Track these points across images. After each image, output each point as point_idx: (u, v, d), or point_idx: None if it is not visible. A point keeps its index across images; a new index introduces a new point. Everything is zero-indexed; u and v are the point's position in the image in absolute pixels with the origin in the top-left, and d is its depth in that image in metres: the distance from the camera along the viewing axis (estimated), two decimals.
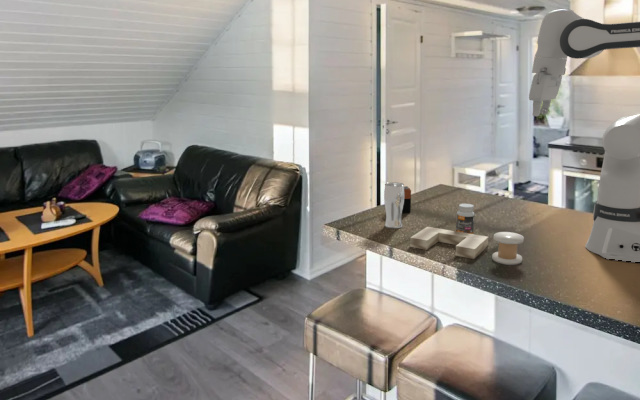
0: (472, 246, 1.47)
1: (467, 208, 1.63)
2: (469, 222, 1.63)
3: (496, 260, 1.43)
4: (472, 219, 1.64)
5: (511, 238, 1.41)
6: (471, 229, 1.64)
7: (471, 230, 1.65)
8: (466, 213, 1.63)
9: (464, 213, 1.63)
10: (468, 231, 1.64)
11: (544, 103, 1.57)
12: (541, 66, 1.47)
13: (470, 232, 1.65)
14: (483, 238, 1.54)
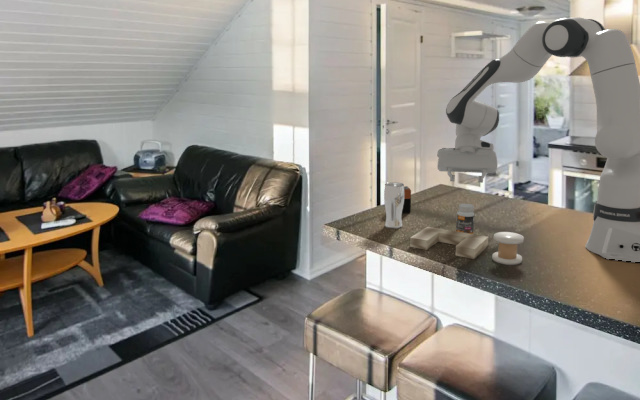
0: (472, 246, 1.47)
1: (467, 208, 1.63)
2: (469, 222, 1.63)
3: (496, 260, 1.43)
4: (472, 219, 1.64)
5: (511, 238, 1.41)
6: (471, 229, 1.64)
7: (471, 230, 1.65)
8: (466, 213, 1.63)
9: (464, 213, 1.63)
10: (468, 231, 1.64)
11: None
12: None
13: (470, 232, 1.65)
14: (483, 238, 1.54)
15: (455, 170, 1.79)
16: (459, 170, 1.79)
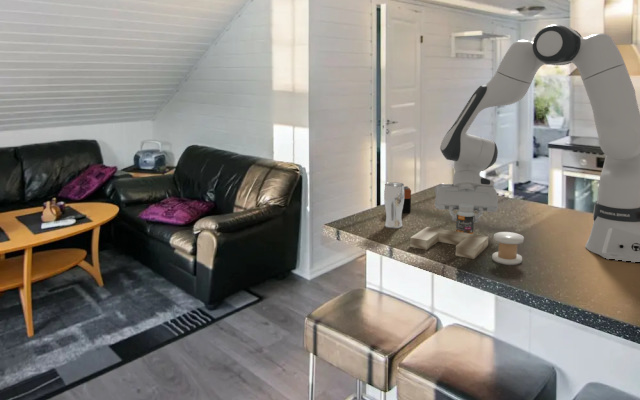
0: (472, 246, 1.47)
1: (467, 208, 1.63)
2: (469, 222, 1.63)
3: (496, 260, 1.43)
4: (472, 219, 1.64)
5: (511, 238, 1.41)
6: (471, 229, 1.64)
7: (471, 230, 1.65)
8: (466, 213, 1.63)
9: (464, 213, 1.63)
10: (468, 231, 1.64)
11: None
12: None
13: (470, 232, 1.64)
14: (483, 238, 1.54)
15: (453, 208, 1.70)
16: (458, 208, 1.70)
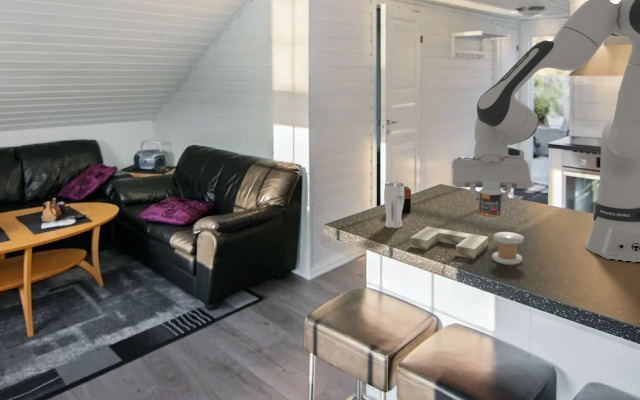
0: (472, 246, 1.47)
1: (493, 185, 1.34)
2: (495, 202, 1.35)
3: (496, 260, 1.43)
4: (499, 198, 1.35)
5: (511, 238, 1.41)
6: (498, 210, 1.36)
7: (498, 212, 1.36)
8: (491, 191, 1.34)
9: (489, 191, 1.34)
10: (494, 213, 1.35)
11: None
12: None
13: (497, 214, 1.36)
14: (483, 238, 1.54)
15: (475, 185, 1.41)
16: (481, 185, 1.41)
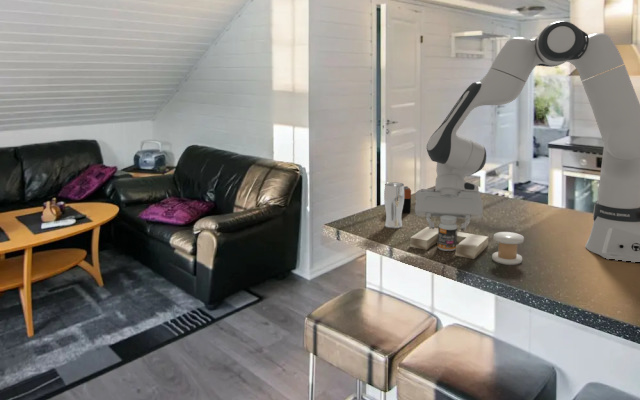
0: (472, 246, 1.47)
1: (449, 221, 1.50)
2: (451, 236, 1.51)
3: (496, 260, 1.43)
4: (454, 232, 1.51)
5: (511, 238, 1.41)
6: (453, 243, 1.52)
7: (454, 244, 1.52)
8: (448, 226, 1.50)
9: (446, 226, 1.51)
10: (450, 245, 1.51)
11: None
12: None
13: (452, 246, 1.52)
14: (483, 238, 1.54)
15: (435, 215, 1.57)
16: (440, 215, 1.57)
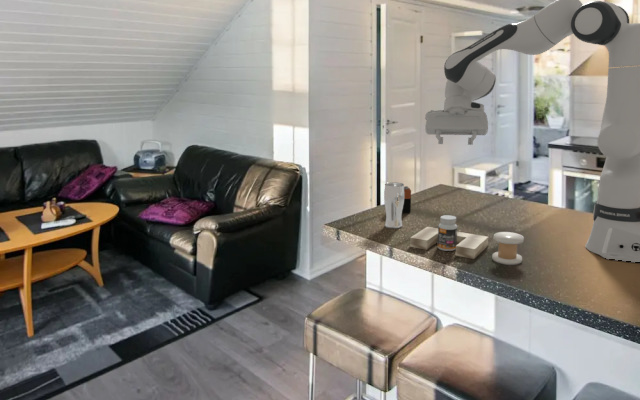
0: (472, 246, 1.47)
1: (449, 221, 1.50)
2: (451, 236, 1.51)
3: (496, 260, 1.43)
4: (454, 232, 1.51)
5: (511, 238, 1.41)
6: (453, 243, 1.52)
7: (454, 244, 1.52)
8: (448, 226, 1.51)
9: (446, 226, 1.51)
10: (450, 245, 1.51)
11: None
12: None
13: (452, 246, 1.52)
14: (483, 238, 1.54)
15: (444, 133, 1.70)
16: (448, 133, 1.70)
